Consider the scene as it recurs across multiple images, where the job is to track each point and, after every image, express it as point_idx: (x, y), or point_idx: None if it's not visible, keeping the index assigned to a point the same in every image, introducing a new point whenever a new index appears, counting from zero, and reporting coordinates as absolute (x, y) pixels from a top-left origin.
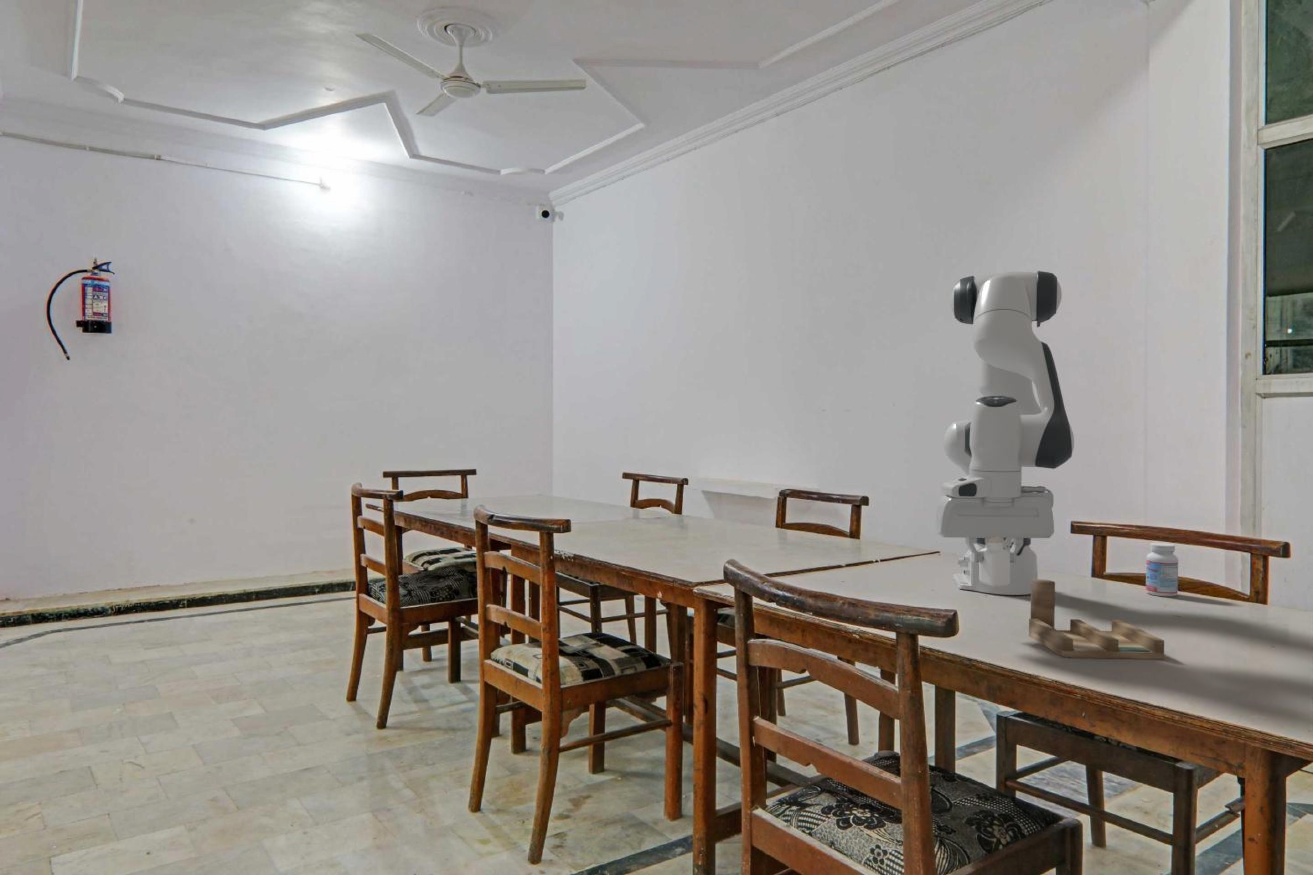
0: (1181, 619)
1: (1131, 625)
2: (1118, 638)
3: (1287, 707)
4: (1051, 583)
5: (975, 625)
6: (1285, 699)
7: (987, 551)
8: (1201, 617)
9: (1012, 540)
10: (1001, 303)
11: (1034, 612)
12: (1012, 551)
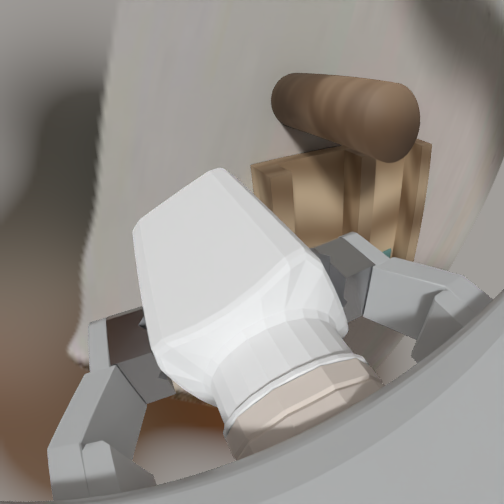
0: (488, 30)
1: (426, 185)
2: (391, 195)
3: (383, 357)
4: (403, 157)
5: (122, 89)
6: (396, 339)
7: (211, 403)
8: (500, 25)
9: (434, 327)
10: None
11: (302, 122)
12: (373, 303)
